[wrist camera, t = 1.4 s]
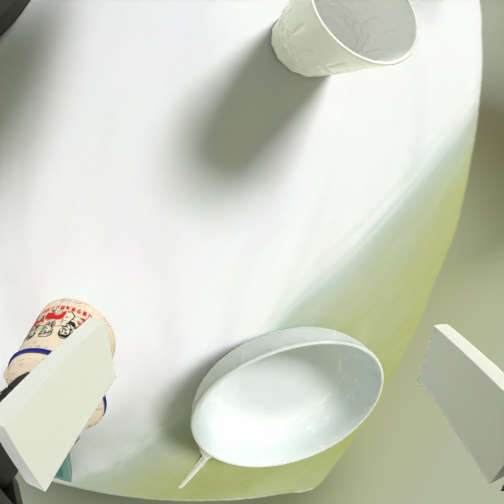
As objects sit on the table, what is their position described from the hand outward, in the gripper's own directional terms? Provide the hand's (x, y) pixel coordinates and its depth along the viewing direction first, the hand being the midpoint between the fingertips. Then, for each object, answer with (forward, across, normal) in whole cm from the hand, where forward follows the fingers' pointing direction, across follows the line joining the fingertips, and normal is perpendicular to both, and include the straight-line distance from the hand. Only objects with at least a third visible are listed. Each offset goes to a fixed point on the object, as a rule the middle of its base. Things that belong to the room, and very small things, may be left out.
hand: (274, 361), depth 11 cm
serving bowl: (+21, +2, -15) cm, 26 cm away
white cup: (+16, +3, +19) cm, 25 cm away
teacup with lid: (+14, -20, -8) cm, 26 cm away
